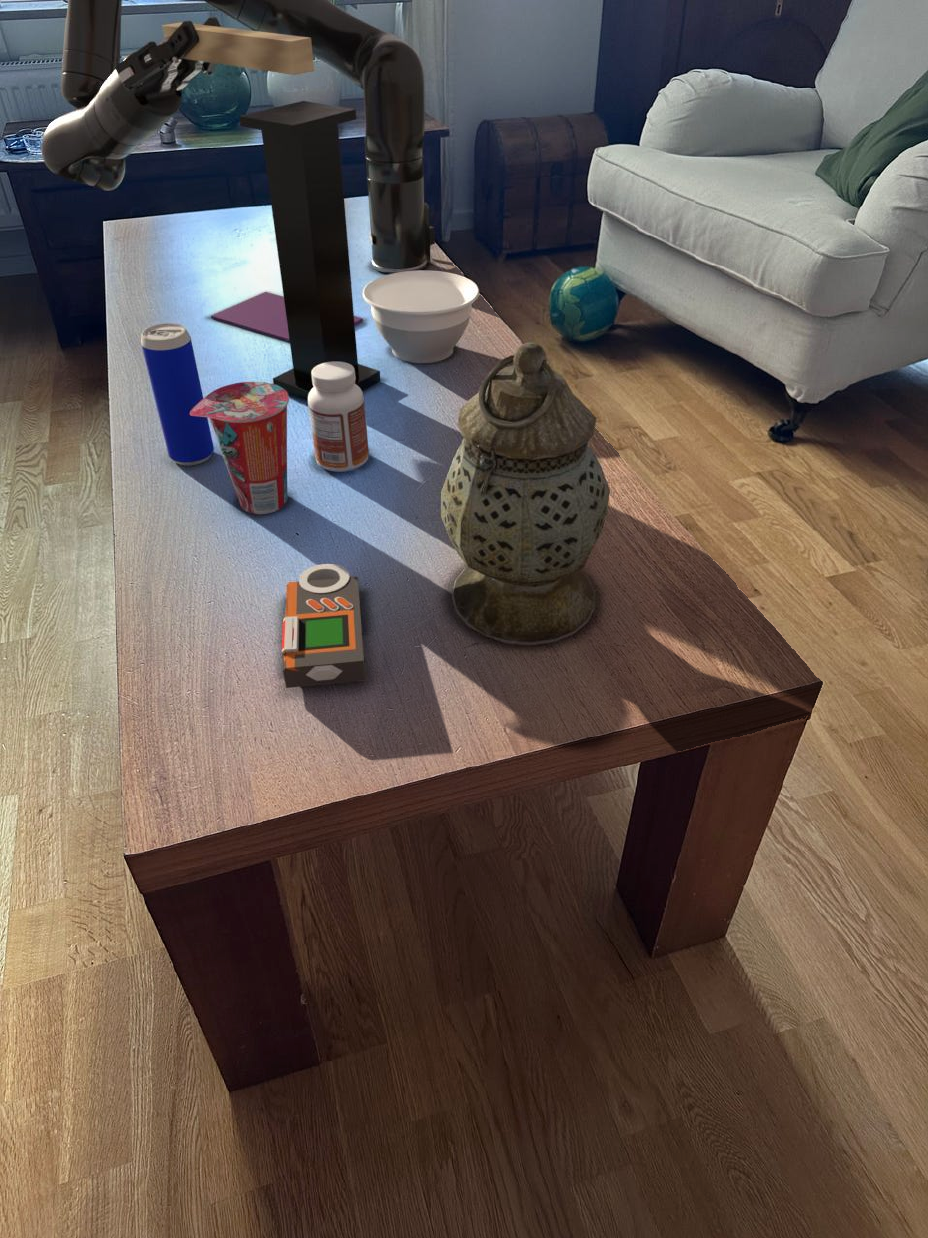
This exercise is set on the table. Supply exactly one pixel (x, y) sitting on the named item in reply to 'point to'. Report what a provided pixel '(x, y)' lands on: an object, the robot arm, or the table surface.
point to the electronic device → (323, 628)
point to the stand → (311, 237)
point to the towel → (261, 315)
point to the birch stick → (250, 49)
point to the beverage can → (177, 392)
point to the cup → (251, 440)
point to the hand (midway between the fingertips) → (205, 28)
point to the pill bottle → (337, 417)
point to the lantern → (524, 504)
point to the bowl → (421, 312)
